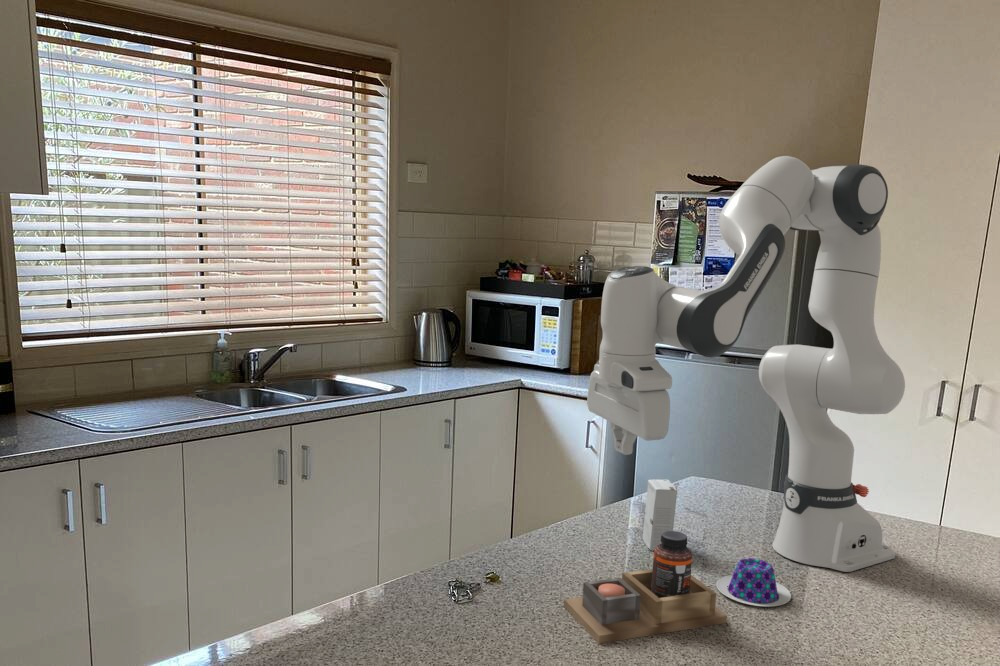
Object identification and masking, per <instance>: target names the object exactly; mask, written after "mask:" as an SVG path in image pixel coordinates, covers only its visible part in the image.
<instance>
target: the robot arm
mask: <svg viewBox="0 0 1000 666" xmlns="http://www.w3.org/2000/svg"><path fill="white" fill-rule="evenodd" d="M888 195H889V189H888V184H887V182H886V179H885V178H884V176H883V174H882V173H881V171H880V170H879V169H877V168H876V167H874V166H872V165H867V164H860V163H859V164H857V163H852V164H849V165H831V166H824V167H823V166H822V167H819V168H816V169H811V168H810V167H809V166H808V165H807V163H805V162H804V161H802V160H801V159H799V158H797V157H794V156H790V155H782V156H781V155H780V156H777V157H774V158H772V159H771V160H769V161H768V162H766V163H765V164H763V166H761V167H760V168H759V169H757V170H756V171H755V172H753V174H751V175H750V176H749V177H748V178H747V179H746V180H745V181H744V182H743V183H742V184H741V186H740V187H738V188H737V190H736V191H735V192H734V193H733V194H732V195H731V196H730V197H729V199H728V200H727V201H726V202H725V204H724V205H723V207H722V209H721V211H720V213H719V217H718V228H719V230H720V231H719V232H720V234H721V237H722V239H723V240H724V242H725V244H726V245H727V246H728V247H729V248H730V249H731V250H732V252H734V253H735V254H736V255H737V256H738V257H737V259H736V260H735V262H734V264H733V265H732V267H731V268H730V270H729V272H728V273H727V275H726V276H725V277H724V279H723V281H722V282H721V283H720V284H719V285H717V286H714V287H713V288H710V289H704V290H703V289H702V290H701V289H695V288H693V289H692V288H688V287H682V286H677V285H676V284H673V283H671V282H669V281H666V280H665V279H664V278H662V277H660V276H659V275H658V274H657V273H656V271H655V269H654V268H653V267H649V266H646V265H634V266H625V267H624V266H623V267H620V268H617V269H615V270H613V271H612V272H610V273H608V275H607V277H606V280H605V282H604V286H603V291H602V297H601V306H600V308H601V309H600V327H601V329H602V339H601V341H600V345H599V359H598V360H597V361H596V363H595V364H594V365H593V366H594V367H593V371H592V372H591V373H590V377H589V380H588V389H587V390H588V391H587V399H586V400H587V401H586V405H587V408H588V410H589V412H591V413H592V414H594V415H596V416H598V417H600V418H602V419H604V420H606V421H608V422H609V423H610V429H611V433H612V436H613V441H614V444H613V445H614V447H613V449H614V450H615V451H616V452H619V453H621V454H622V455H624V456H627V455H631V454H633V450H634V449H633V448H634V443H635V441H636V439H637V438H638V437H639V438H640V439H643V440H645V441H658V440H663V439H665V438H666V436H667V435H668V432H669V428H670V427H669V426H670V415H671V398H670V394H669V392H668V391H667V390H670V389H672V387H673V377H672V375H671V374H670V372H668V371H667V370H666V369H665V368H664V367H663V366H662V365H661V363H660V362H659V360H658V359H656V353H657V351H656V344H657V343H659V344H664V345H667V346H670V347H674V348H677V349H682V350H687V351H689V352H691V353H694V354H697V355H700V356H702V357H705V358H716V357H720V356H722V355H723V354H725V353H727V352H728V351H729V350H730V349H731V348H732V347H733V346H735V343H736V342H737V341H738V339H739V337H740V336H741V333H742V330H743V328H744V325H745V322H746V320H747V317H748V315H749V314H750V312H751V310H752V308H753V307H754V305H755V303H756V302H757V300H758V298H759V297H760V296H761V294H762V292H763V290H764V289H765V287H766V285H767V284H768V283H769V281H770V279H771V278H772V275H774V272H775V270H776V269H777V267H778V265H779V264H780V262H781V260H782V258H783V255H784V253H785V250H786V249H785V248H786V238H785V235H786V234H787V232H788V230H790V231H802V230H805V231H818V234H819V239H820V245H819V248H818V252H817V256H816V260H815V264H814V269H813V270H814V271H813V276H812V282H811V286H810V287H811V289H810V295H809V299H808V311H809V314H810V316H811V318H812V319H813V320H814V321H815V322H816V323H817V324H819V325H820V326H821V327H823V328H824V329H826V330H827V331H829V332H830V333H831V335H832V338H833V346H832V348H829V347H827V348H826V347H820V346H811V345H806V344H805V345H803V344H783V345H782V344H781V345H780V344H779V345H774V346H772V347H770V348H769V349H768V350H767V351H766V352H765V353H764V355H763V356H762V357H761V360H760V363H759V366H758V377H759V378H758V379H759V382H760V384H761V387H762V389H763V390H764V392H766V394H767V395H768V396H769V397H770V398H771V399H772V400H773V401H774V402H775V403H776V406H777V407H778V408H779V410H780V412H781V414H782V415H783V418H784V421H785V423H786V427H787V431H788V439H789V440H788V441H789V442H788V443H789V445H788V446H789V451H788V452H789V455H788V456H789V457H788V471H787V474H785V478H784V484H783V485H784V487H783V497H784V501H783V507H782V511H781V515H780V519H779V520H780V521H779V524H778V528H777V530H776V534H775V537H774V539H773V542H772V548H773V550H774V551H775V552H777V554H779V555H781V556H783V558H787V559H789V560H791V561H795V562H798V563H800V564H804V565H808V566H809V565H810V566H815V567H821V568H829V569H833V570H836V571H839V572H844V573H846V572H847V573H851V572H853V571H854V572H855V571H857V570H861V569H864V568H867V567H870V566H875V565H876V564H880V563H885V562H886V561H890V560H893V559H896V553H895V551H894V550H893V549H892V548H891V547H890V546H888V545H886V544H885V543H884V542H883V530H882V528H883V527H882V526H881V523H880V522H879V521H878V520H877V518H875V517H874V516H873V515H872V514H871V513H869V511H867V510H866V509H865V508H864V507H863V506H862V505H861V504H860V503H858V500H857V495H858V496H860V497H862V498H867V496H868V495H869V492H870V490H869V488H868V486H865V485H862V484H860V483H857V484H853V482H852V475H853V466H854V465H853V464H854V454H855V447H854V444H853V441H852V440H851V438H850V436H849V435H848V434H847V433H846V432H845V431H843V430H842V429H840V428H839V427H838V426H836V425H835V423H834V422H833V421H832V420H831V418H830V417H829V414H828V411H827V410H828V409H829V410H836V411H839V412H845V413H850V414H851V413H852V414H857V415H887V414H889V413H890V412H892V411H893V410H895V409H896V407H898V405H899V404H900V403H901V401H902V400H903V396H904V394H905V391H906V390H905V388H906V382H905V376H904V373H903V371H902V369H901V368H900V365H898V363H897V362H896V361H895V360H893V359H892V357H891V356H889V354H888V353H887V352H886V350H885V349H884V348H883V346H882V344H881V342H880V339H879V338H878V334H877V332H876V327H875V308H876V307H875V306H876V305H875V303H876V297H877V295H876V294H877V288H878V282H879V275H880V269H881V267H880V266H881V258H882V257H881V256H882V255H881V253H882V239H881V238H882V237H881V230H880V227H879V225H878V224H879V222H880V220H881V218H882V216H883V215H884V213H885V209H886V207H887V203H888Z"/></svg>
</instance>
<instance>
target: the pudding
mask: <svg viewBox="0 0 1000 666" xmlns="http://www.w3.org/2000/svg"><path fill="white" fill-rule="evenodd" d="M727 586H728V587H727ZM716 588H717V589H718V591H719V592H720V593H721V594H722V595H724V596H725V597H728V598H729V599H731V600H733V601H735V602H739V603H741V604H742V603H743V604H746V605H750V606H754V607H755V606H756V607H779V606H782V605H785V604H787V603H788V602H790V601H791V599H792V594H791V592H790V591H789V589H788V588H787V587H785V586H784V585H782V584H781V583H779V582H777V581H776V575H775V571H774V567H773V565H772V564H770V563H769V562H766V560H764V559H758V558H753V557H752V558H751V557H749V558H742V559H740V560H739V561H738V562H737V564H736V565H735V568H734V570H733V573H732V574H729V575H725V576H723V577H720V578H719V579H718V580H717V581H716Z"/></svg>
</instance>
